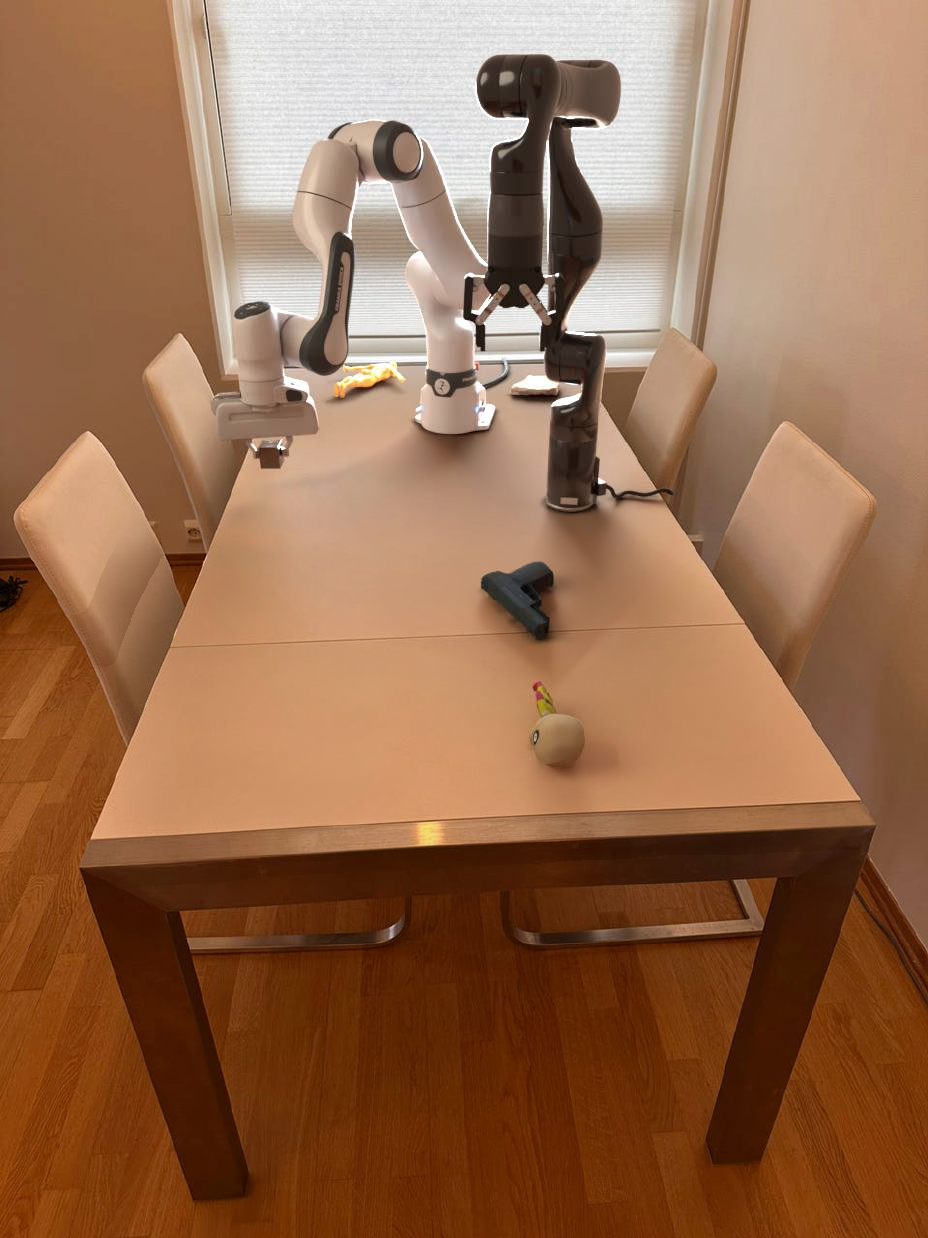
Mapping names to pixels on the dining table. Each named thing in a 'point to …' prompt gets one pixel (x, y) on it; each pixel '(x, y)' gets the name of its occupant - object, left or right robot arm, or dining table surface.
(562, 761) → the toy
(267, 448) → the block
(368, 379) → the human figure
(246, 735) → the dining table surface
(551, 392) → the stone
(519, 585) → the handgun
